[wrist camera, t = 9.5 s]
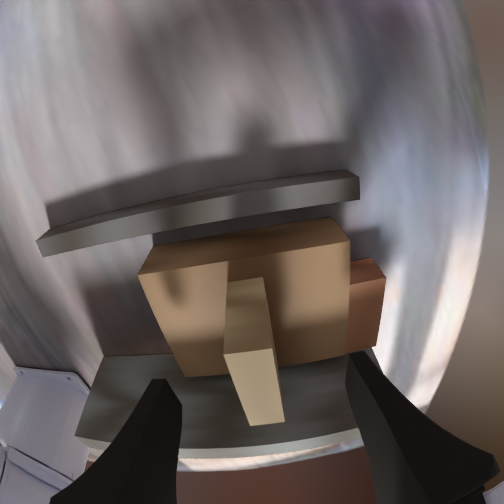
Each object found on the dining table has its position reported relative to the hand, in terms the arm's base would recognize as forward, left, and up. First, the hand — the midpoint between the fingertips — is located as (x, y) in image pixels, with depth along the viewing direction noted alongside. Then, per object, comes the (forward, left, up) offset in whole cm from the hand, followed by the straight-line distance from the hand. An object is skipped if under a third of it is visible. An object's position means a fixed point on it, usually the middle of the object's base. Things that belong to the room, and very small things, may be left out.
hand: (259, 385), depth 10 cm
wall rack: (-2, 0, -6) cm, 6 cm away
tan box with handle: (0, 0, -6) cm, 6 cm away
